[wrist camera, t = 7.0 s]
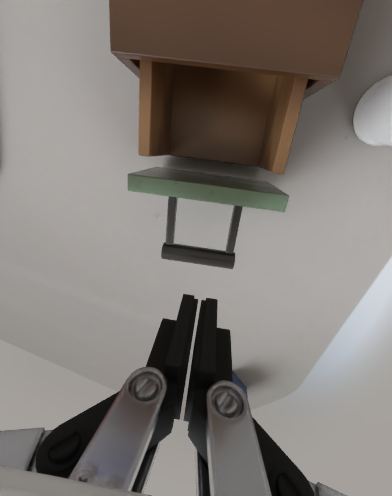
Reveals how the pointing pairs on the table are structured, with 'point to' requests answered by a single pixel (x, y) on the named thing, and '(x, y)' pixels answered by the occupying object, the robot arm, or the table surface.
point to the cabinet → (238, 35)
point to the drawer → (214, 141)
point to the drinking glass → (375, 114)
